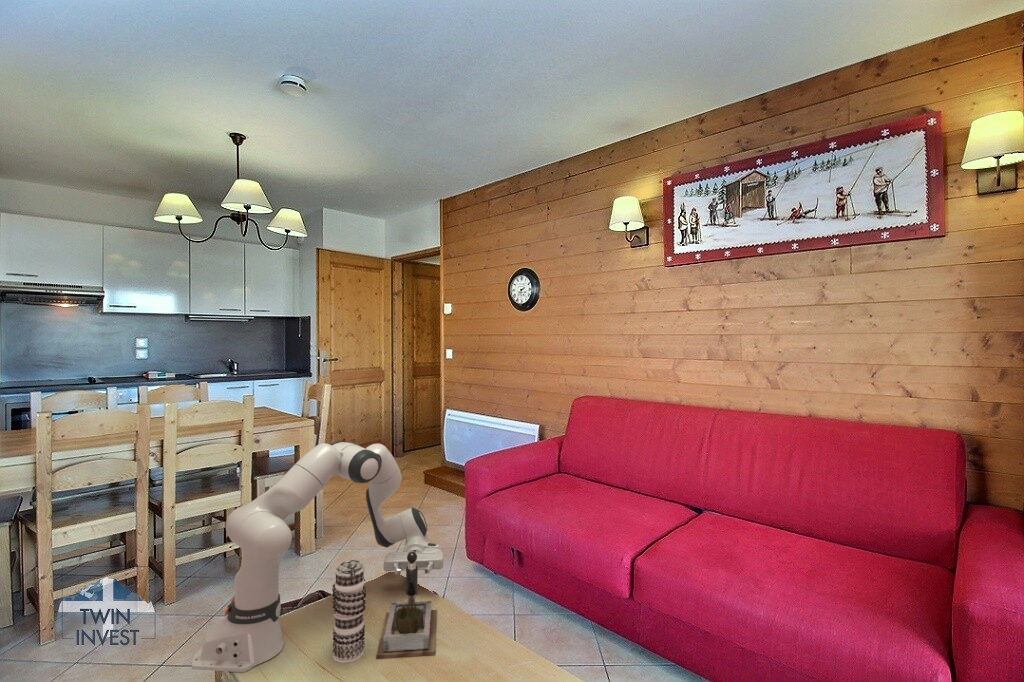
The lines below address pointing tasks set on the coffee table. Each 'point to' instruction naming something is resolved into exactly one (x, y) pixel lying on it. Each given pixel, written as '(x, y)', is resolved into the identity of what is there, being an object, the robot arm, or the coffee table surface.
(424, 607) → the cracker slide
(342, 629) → the decorative candle
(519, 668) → the coffee table surface
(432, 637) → the base
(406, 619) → the cup
